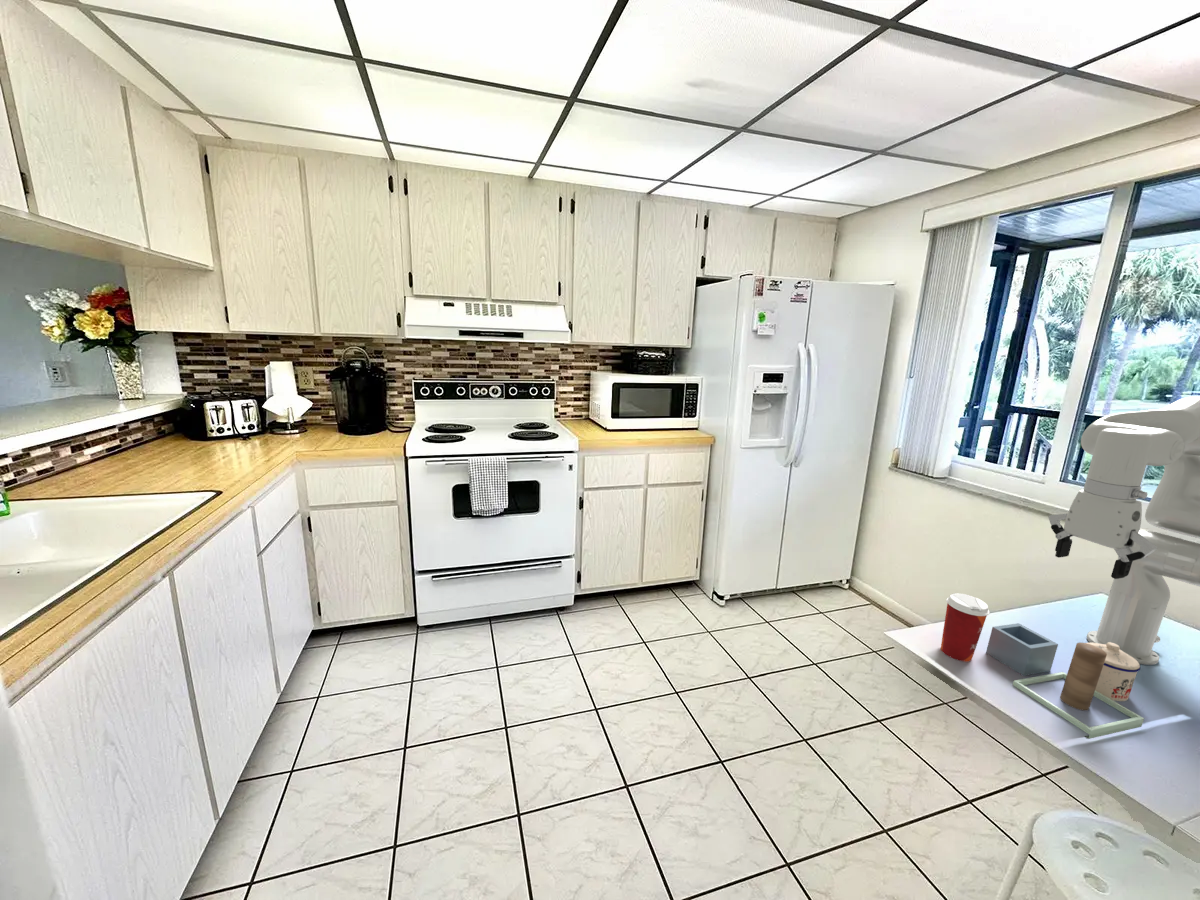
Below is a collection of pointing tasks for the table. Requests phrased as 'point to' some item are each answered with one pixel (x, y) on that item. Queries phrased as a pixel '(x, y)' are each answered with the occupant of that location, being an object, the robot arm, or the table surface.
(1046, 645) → the deep square box
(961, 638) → the coffee cup
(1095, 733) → the tray
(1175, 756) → the table surface
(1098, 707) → the table surface
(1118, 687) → the teacup with lid
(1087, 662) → the peg
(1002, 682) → the table surface
